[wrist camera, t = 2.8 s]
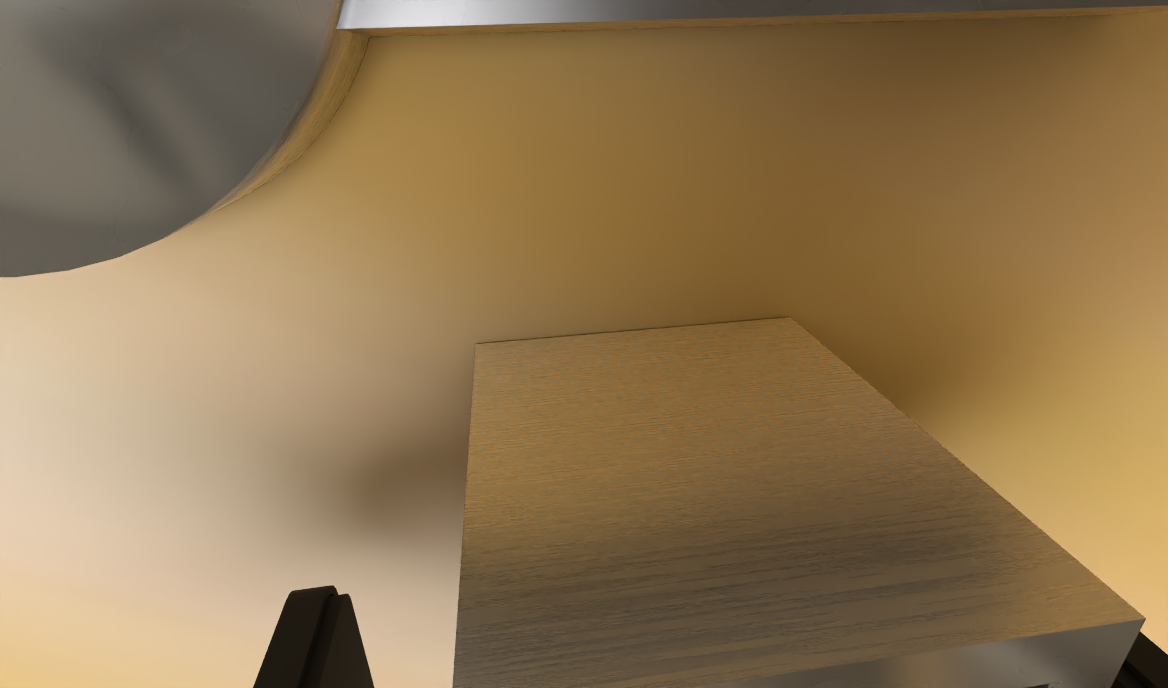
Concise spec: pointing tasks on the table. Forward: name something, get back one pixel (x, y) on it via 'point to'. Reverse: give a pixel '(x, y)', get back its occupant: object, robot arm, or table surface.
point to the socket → (746, 530)
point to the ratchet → (266, 94)
